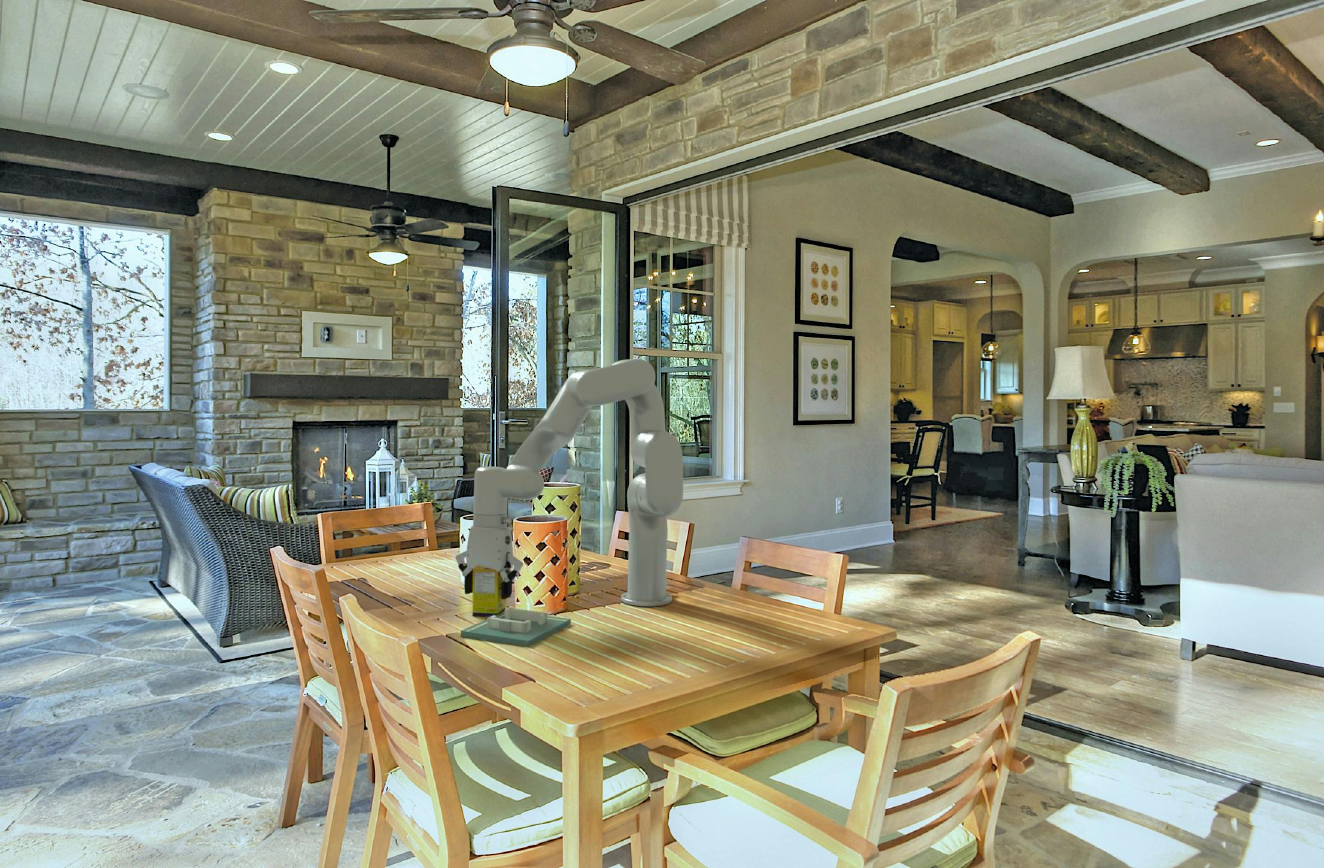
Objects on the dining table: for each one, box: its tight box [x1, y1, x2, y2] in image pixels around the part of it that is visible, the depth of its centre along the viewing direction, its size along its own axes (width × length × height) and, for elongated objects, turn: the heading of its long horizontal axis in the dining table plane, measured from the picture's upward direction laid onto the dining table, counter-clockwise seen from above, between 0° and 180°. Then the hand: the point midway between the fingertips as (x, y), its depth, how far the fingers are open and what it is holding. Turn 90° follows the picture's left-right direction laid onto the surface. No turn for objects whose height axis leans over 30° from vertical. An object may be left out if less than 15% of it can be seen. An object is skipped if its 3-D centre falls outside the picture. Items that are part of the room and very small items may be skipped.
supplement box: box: [472, 567, 506, 617], centre depth 183 cm, size 6×6×11 cm
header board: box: [460, 607, 572, 648], centre depth 170 cm, size 18×16×3 cm
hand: (487, 595), depth 183 cm, fingers open, 9 cm apart
